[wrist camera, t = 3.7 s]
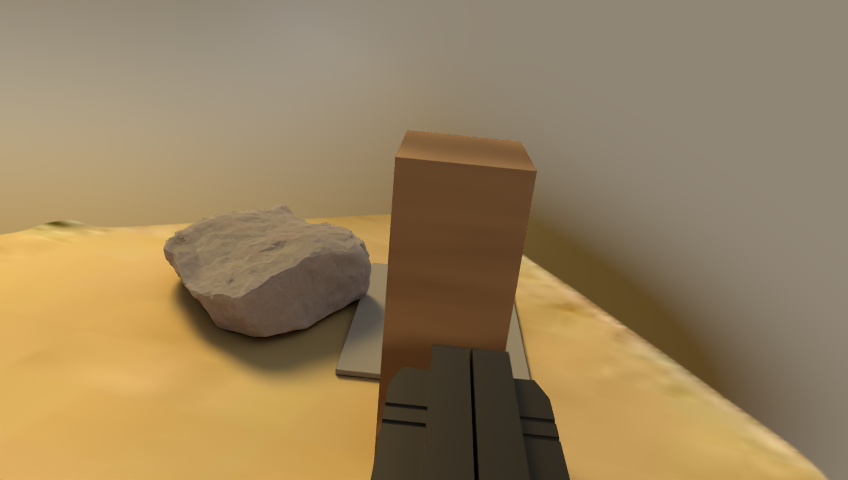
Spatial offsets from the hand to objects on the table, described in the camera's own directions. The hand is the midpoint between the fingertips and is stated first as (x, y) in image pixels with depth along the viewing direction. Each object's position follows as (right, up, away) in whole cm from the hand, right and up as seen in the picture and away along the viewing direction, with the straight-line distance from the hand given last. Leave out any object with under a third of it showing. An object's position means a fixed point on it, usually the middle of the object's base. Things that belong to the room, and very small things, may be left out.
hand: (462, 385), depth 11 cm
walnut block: (0, -6, +13) cm, 15 cm away
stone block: (-11, 0, +24) cm, 27 cm away
